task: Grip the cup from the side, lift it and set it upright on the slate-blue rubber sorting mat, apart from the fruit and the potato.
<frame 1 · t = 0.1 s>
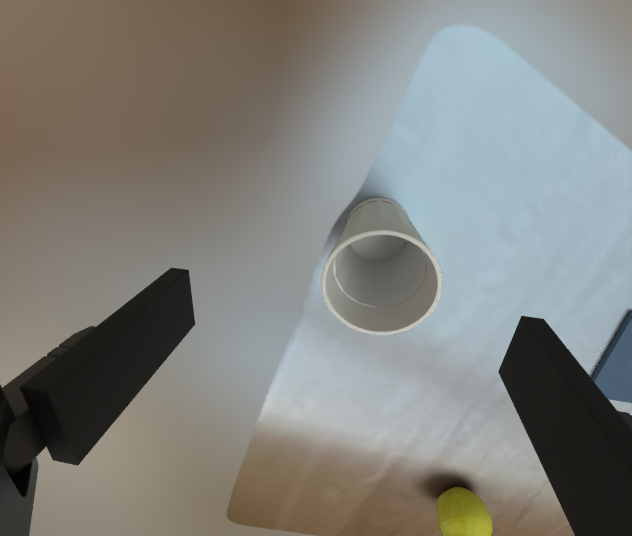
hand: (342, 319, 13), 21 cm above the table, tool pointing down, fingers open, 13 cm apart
cup: (377, 228, 33), on the table
fruit: (457, 489, 48), on the table
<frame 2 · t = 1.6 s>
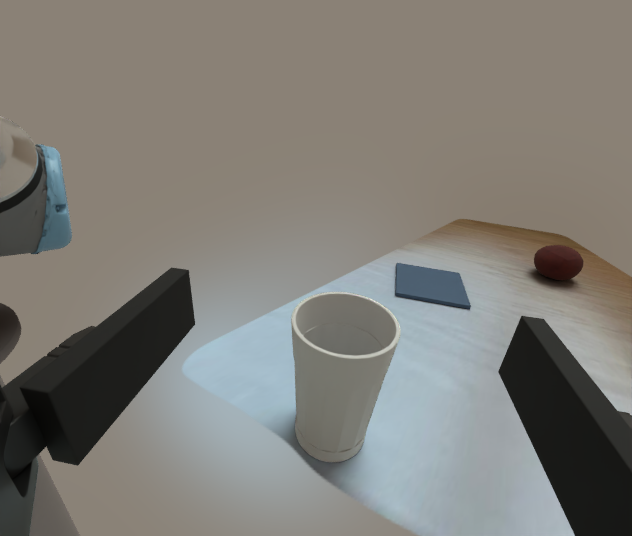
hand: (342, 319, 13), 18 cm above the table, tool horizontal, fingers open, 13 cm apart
cup: (329, 429, 30), on the table
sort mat: (429, 285, 55), on the table
potato: (550, 277, 62), on the table
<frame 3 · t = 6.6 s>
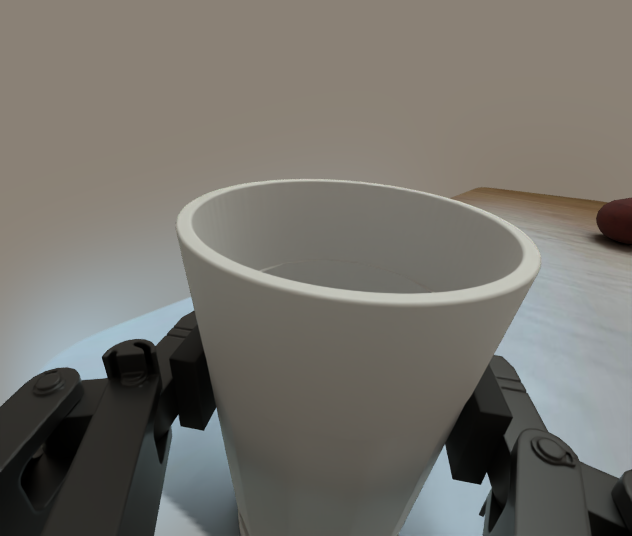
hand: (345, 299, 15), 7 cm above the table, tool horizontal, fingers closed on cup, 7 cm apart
cup: (318, 502, 13), on the table, touching gripper
potato: (619, 242, 46), on the table
when the fingers open (7 cm above the table, at t = 17.4 s): cup stays where it is, resting on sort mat.
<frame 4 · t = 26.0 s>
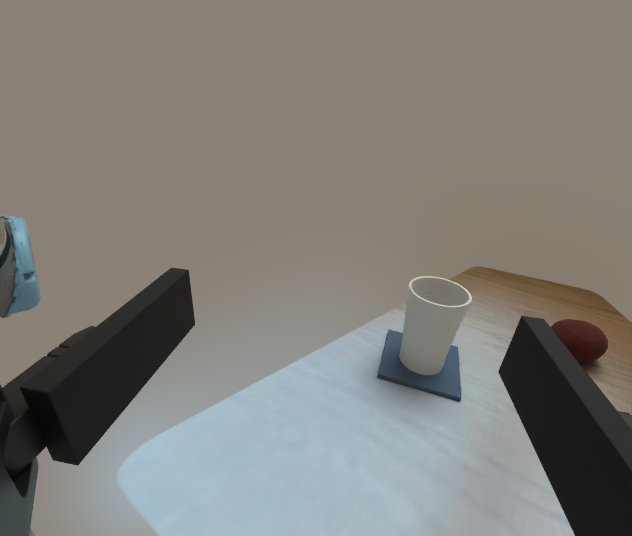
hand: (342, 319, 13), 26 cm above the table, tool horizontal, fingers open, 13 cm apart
cup: (420, 360, 49), resting on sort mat
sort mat: (419, 362, 49), on the table
potato: (568, 354, 54), on the table
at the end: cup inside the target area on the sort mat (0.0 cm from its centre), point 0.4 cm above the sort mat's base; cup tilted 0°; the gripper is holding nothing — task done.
